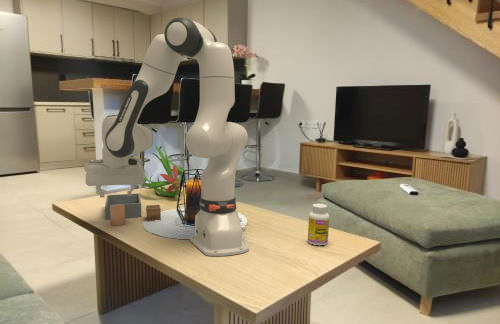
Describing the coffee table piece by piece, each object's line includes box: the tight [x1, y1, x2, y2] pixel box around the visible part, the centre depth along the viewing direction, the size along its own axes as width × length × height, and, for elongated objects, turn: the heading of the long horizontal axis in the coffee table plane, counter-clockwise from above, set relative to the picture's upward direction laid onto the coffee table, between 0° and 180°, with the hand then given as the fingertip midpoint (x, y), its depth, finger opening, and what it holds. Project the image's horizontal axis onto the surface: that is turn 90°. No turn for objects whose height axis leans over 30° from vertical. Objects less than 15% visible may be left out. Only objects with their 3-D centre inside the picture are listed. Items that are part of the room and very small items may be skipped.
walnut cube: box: [145, 204, 162, 222], centre depth 143 cm, size 5×5×5 cm
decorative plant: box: [140, 144, 185, 198], centre depth 179 cm, size 26×25×30 cm
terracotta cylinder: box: [110, 204, 126, 227], centre depth 136 cm, size 5×5×7 cm
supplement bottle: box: [307, 203, 330, 246], centre depth 121 cm, size 7×7×13 cm
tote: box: [104, 193, 142, 221], centre depth 151 cm, size 17×13×6 cm
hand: (116, 196), depth 135 cm, fingers open, 8 cm apart
